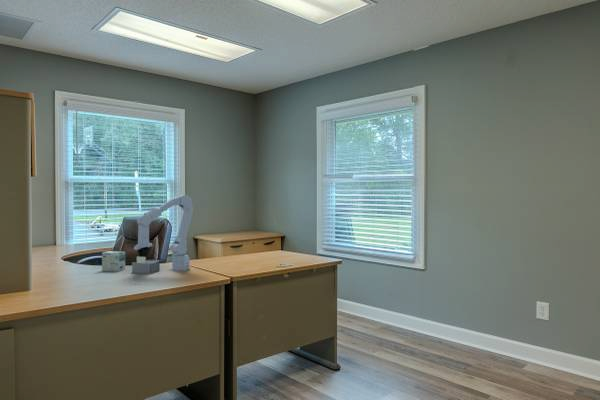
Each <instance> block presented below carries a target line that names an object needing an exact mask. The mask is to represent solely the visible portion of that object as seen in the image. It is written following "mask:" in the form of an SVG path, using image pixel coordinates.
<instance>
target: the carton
mask: <svg viewBox="0 0 600 400" xmlns="http://www.w3.org/2000/svg"><path fill="white" fill-rule="evenodd" d="M135 263H137V261H136V262H135ZM146 263H150V274H153V273H156V272H159V271H160V268H161V267H160V263H161V262H160V261H154V260H152V261H151V260H146Z"/></svg>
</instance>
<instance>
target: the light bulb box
mask: <svg viewBox="0 0 600 400" xmlns="http://www.w3.org/2000/svg"><path fill="white" fill-rule="evenodd" d="M123 270H126V251H117V250H107V251H102V253H101V272H109V271H111V272H112V271H114V272H121V271H123Z"/></svg>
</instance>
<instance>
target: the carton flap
mask: <svg viewBox="0 0 600 400" xmlns="http://www.w3.org/2000/svg"><path fill="white" fill-rule="evenodd" d="M146 261H147V258H146V257H140V255H139V256H136V262H137V263H136V262H132V263H131V273H134V274H149V275H150V274H151V273H150V263H146Z"/></svg>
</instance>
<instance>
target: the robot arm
mask: <svg viewBox="0 0 600 400" xmlns="http://www.w3.org/2000/svg"><path fill="white" fill-rule="evenodd" d="M174 206H179V207H180V208H181V210H182V211H183V212H182V216H181V220H180V223H179V228H178V232H177V234H176V237H175V239H174V240H173V243H172V244H171V246H170V250H171V252H172V255H171V257H172V258H171V261H172V262H171V268H169V270H170V271H182V272H183V271H187V270H188V269H189V270H190V269H191V267H190V265H191V264H190V255H188V254H186V252H187V251H188V248H187V244H188V242H187V236H188V233H189V232H188V231H189V227H190V225H191V221H192V217H193V213H194V206H193V199H192V198H191V196H189V195H188V194H177V195H176V196H173V197H172V198H170V199H169V200H167V201H166V202H165V203H163V204H162V205H160V206H158V207H157V206H155V207H151V209H150V210H148V211H146V212H144V213H143V214H142V215H139V216H138V218H137V219H136V223H137V224H138V225H137V226H138V229H137V244H136V245H134V246H133V250H135V251H136V252H137V253H138V255H139V257H146V259H147V257H148V254H149V252H150V250H151V248H150V247H153V243H151V242H150V225H151V223H152V222H153V221H155V220H156V219H158V218H160V217H161V216H162V213H163V212H166V211H167V210H169V209H170V208H172V207H174Z"/></svg>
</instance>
